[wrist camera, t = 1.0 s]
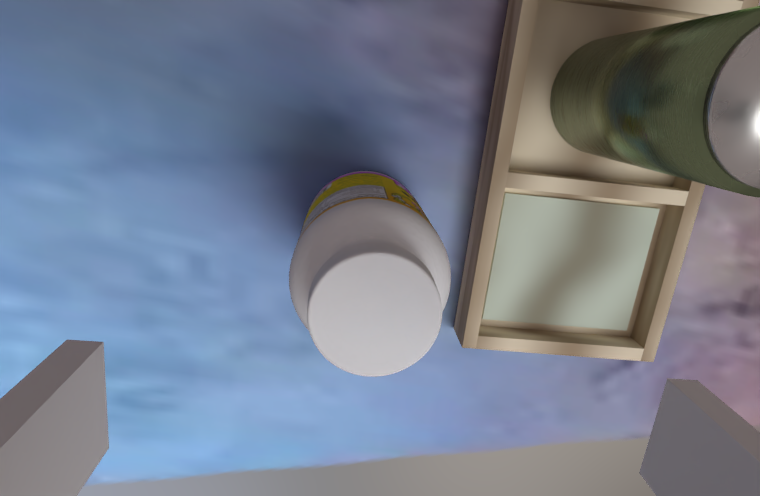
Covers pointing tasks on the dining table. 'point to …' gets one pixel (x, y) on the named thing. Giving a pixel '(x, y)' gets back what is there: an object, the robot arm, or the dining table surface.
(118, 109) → the dining table surface
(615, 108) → the can
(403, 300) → the supplement bottle
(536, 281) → the caddy
